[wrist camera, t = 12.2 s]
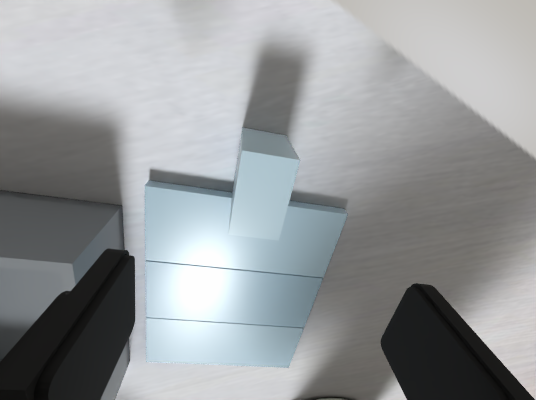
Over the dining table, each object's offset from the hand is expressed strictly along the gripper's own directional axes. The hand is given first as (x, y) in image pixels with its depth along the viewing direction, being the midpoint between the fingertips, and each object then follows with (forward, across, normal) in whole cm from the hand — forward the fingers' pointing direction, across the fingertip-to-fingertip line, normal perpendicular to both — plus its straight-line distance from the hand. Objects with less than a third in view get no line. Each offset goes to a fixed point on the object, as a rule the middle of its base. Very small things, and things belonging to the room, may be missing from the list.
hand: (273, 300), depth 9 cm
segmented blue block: (+9, +1, +7) cm, 11 cm away
